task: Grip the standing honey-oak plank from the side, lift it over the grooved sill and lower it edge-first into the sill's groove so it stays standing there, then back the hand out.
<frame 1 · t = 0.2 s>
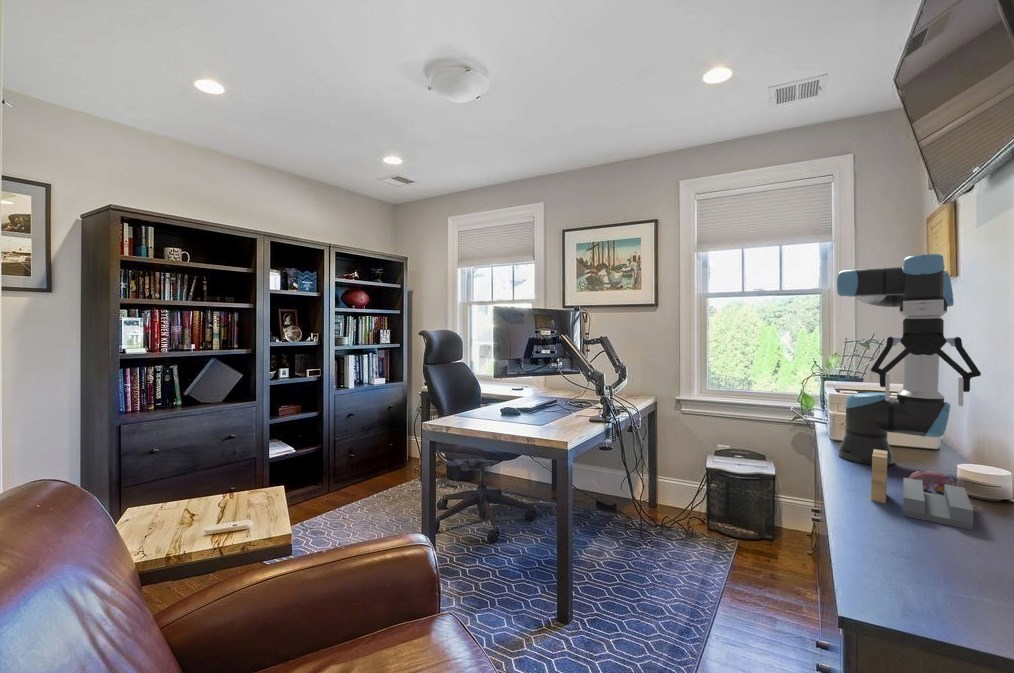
hand: (922, 402, 116), 27 cm above the table, tool pointing down, fingers open, 13 cm apart
oak plank: (878, 497, 125), on the table
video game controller: (930, 491, 131), on the table
grooved sill: (934, 510, 117), on the table
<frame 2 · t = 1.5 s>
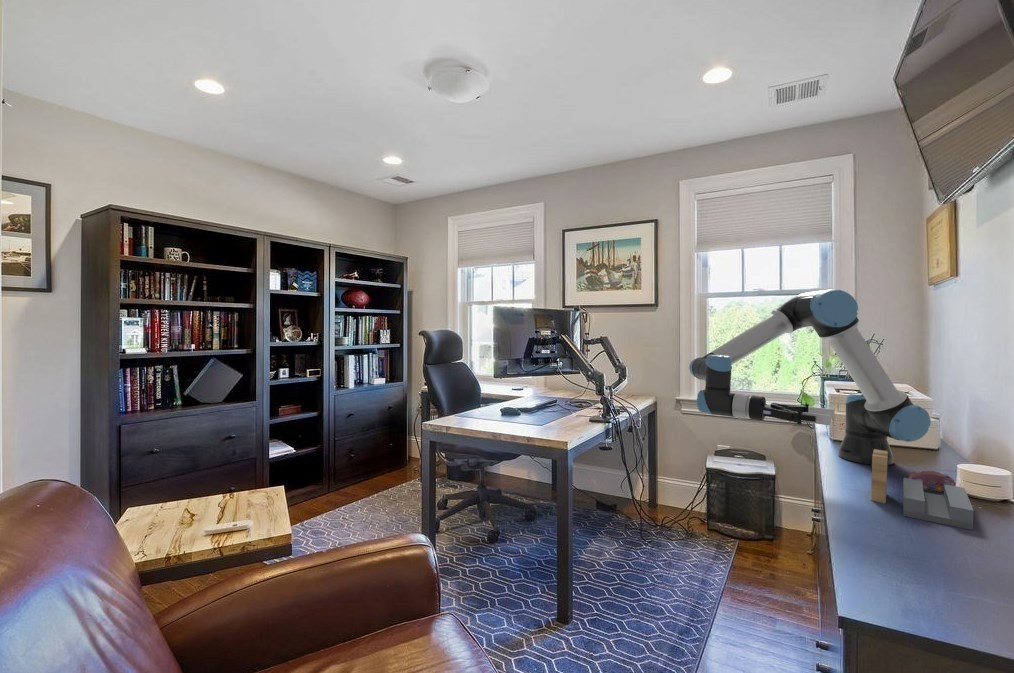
hand: (832, 417, 132), 20 cm above the table, tool horizontal, fingers open, 13 cm apart
nothing on the table moved.
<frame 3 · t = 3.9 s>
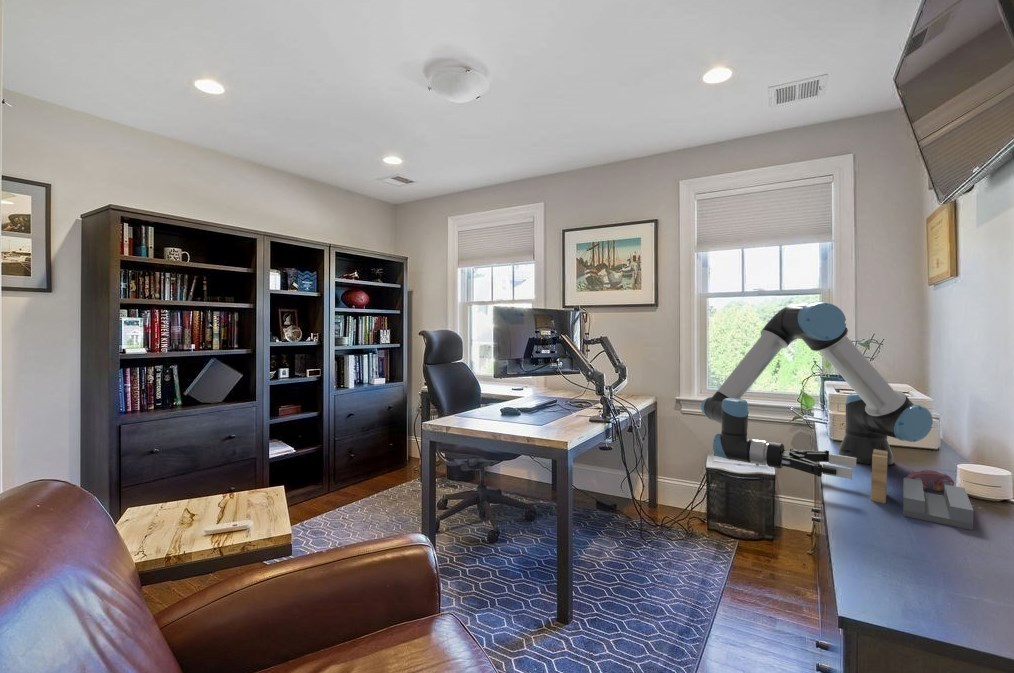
hand: (854, 468, 128), 7 cm above the table, tool horizontal, fingers open, 13 cm apart
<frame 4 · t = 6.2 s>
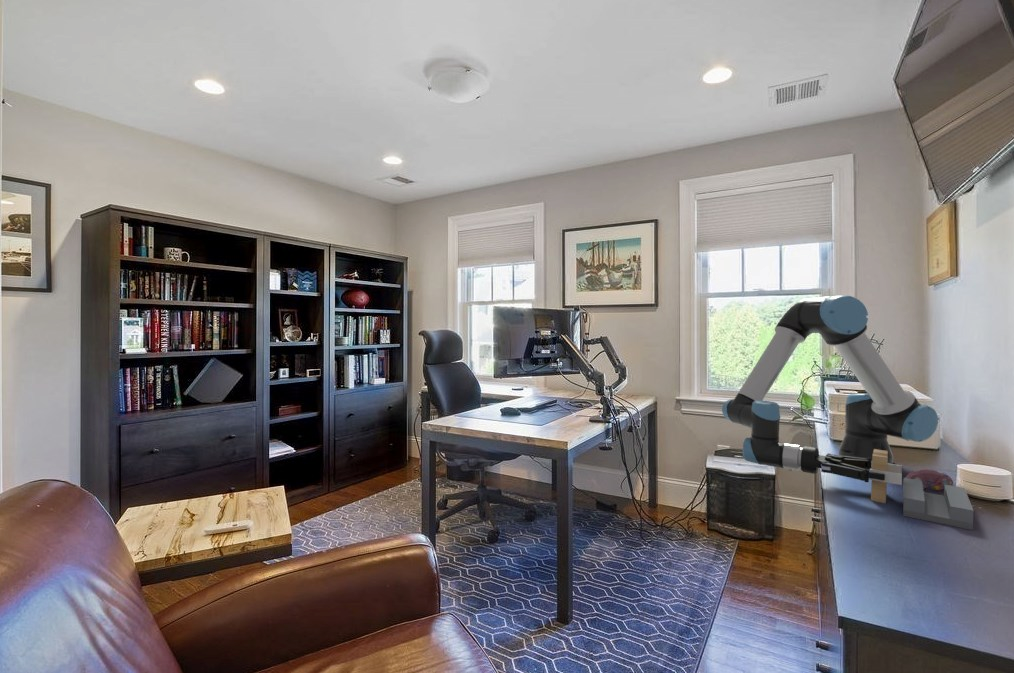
hand: (901, 474, 122), 7 cm above the table, tool horizontal, fingers closed on oak plank, 9 cm apart
oak plank: (878, 497, 125), on the table, touching gripper
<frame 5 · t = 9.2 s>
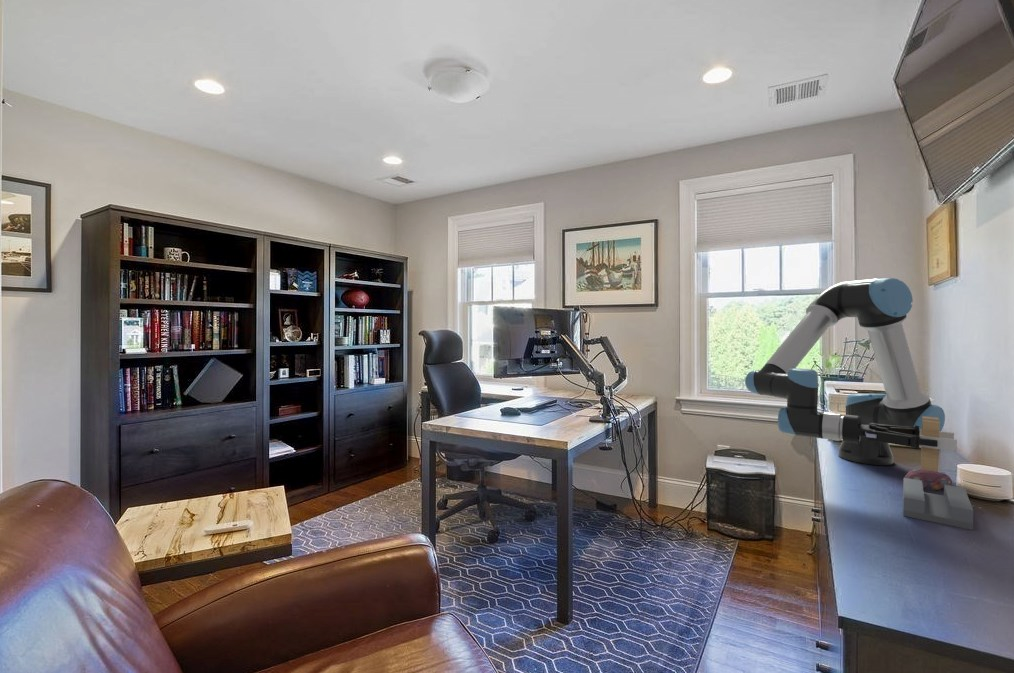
hand: (955, 441, 114), 18 cm above the table, tool horizontal, fingers closed on oak plank, 9 cm apart
oak plank: (929, 466, 117), point 11 cm above the table, touching gripper
when the fingers open (10 cm above the table, at t = 12.1 s): oak plank drops 1 cm, resting on grooved sill.
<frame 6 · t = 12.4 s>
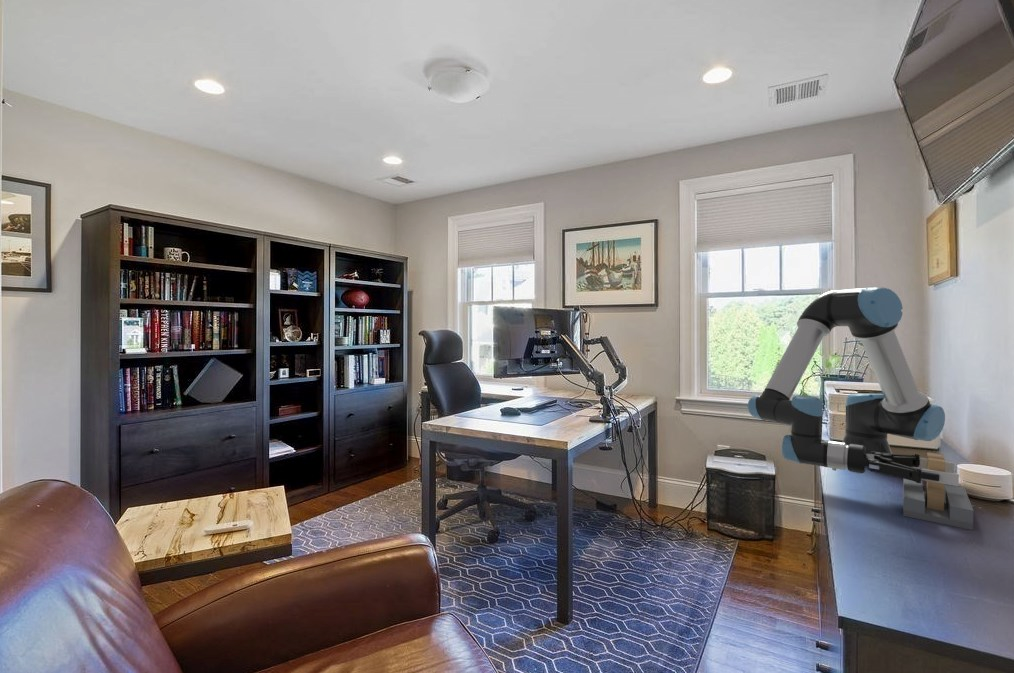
hand: (956, 473, 114), 10 cm above the table, tool horizontal, fingers open, 12 cm apart
oak plank: (934, 504, 117), point 1 cm above the table, touching grooved sill
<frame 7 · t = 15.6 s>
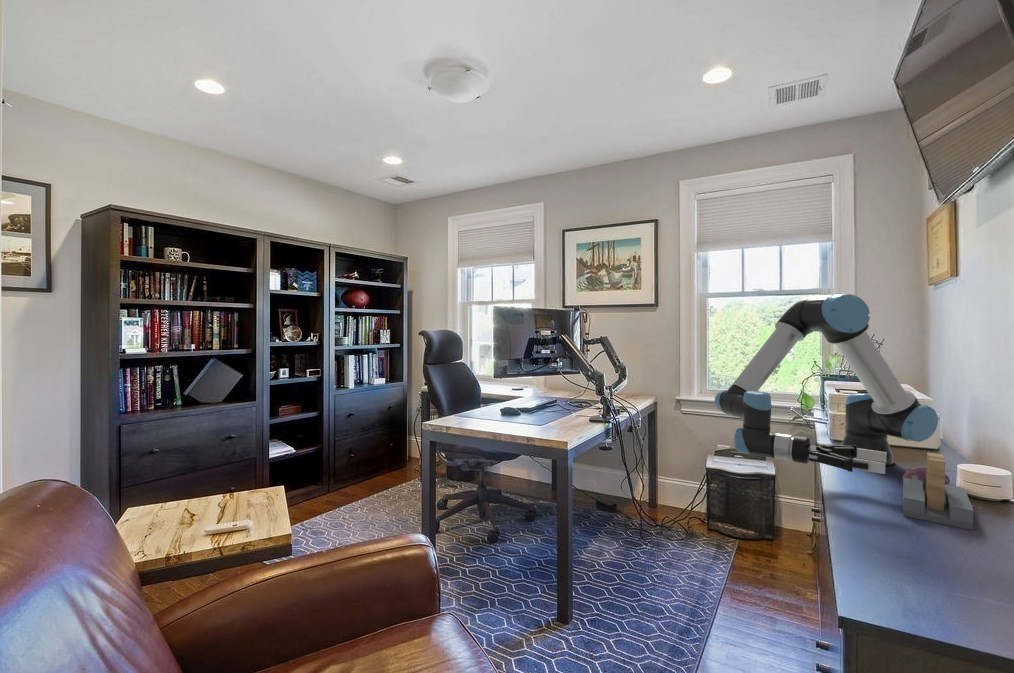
hand: (886, 462, 123), 10 cm above the table, tool horizontal, fingers open, 13 cm apart
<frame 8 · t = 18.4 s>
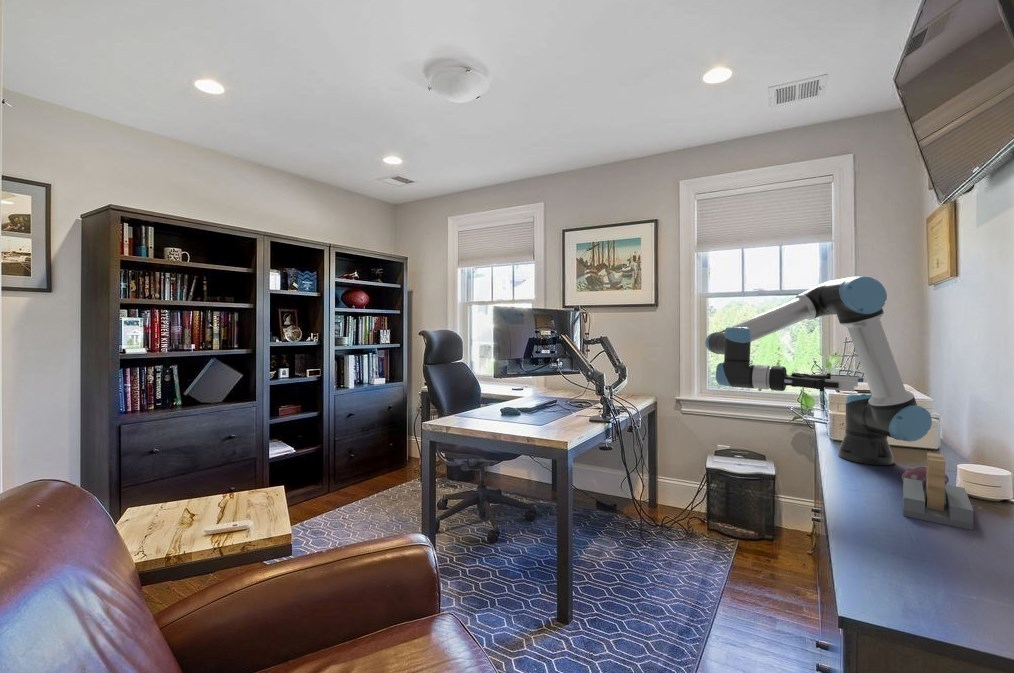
hand: (856, 384, 130), 30 cm above the table, tool horizontal, fingers open, 13 cm apart
at the end: oak plank 0.1 cm off-centre on the grooved sill, point 1.5 cm above the grooved sill's base; oak plank tilted 0°; the gripper is holding nothing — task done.
